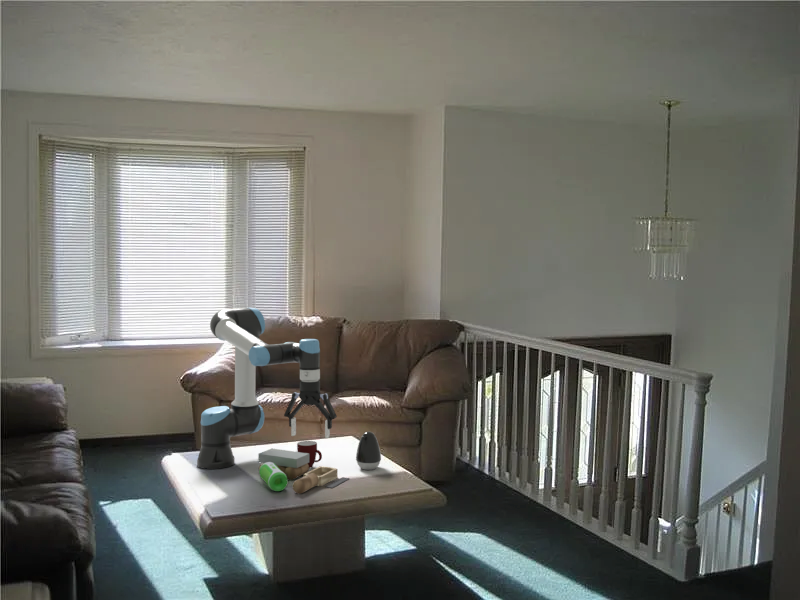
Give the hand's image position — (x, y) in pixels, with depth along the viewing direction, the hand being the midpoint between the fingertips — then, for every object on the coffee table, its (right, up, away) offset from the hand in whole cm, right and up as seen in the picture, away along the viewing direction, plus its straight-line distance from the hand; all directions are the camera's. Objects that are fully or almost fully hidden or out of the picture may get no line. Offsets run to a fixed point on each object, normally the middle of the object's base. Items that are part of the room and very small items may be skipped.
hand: (310, 436), depth 278 cm
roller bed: (-12, -18, +15) cm, 26 cm away
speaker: (-14, -19, +1) cm, 24 cm away
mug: (-3, -18, +25) cm, 31 cm away
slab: (-12, -13, +15) cm, 23 cm away
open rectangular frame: (+3, -18, +8) cm, 20 cm away
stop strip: (+10, -19, +4) cm, 22 cm away
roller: (-2, -19, -3) cm, 19 cm away
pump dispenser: (+21, -18, +24) cm, 36 cm away
